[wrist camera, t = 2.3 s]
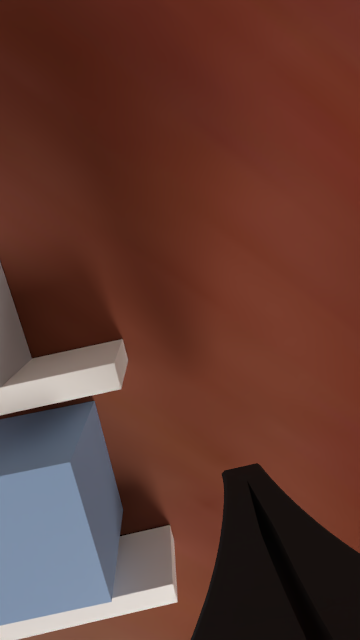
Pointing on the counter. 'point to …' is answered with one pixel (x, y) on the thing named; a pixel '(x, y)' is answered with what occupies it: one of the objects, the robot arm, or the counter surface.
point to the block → (56, 513)
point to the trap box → (62, 385)
